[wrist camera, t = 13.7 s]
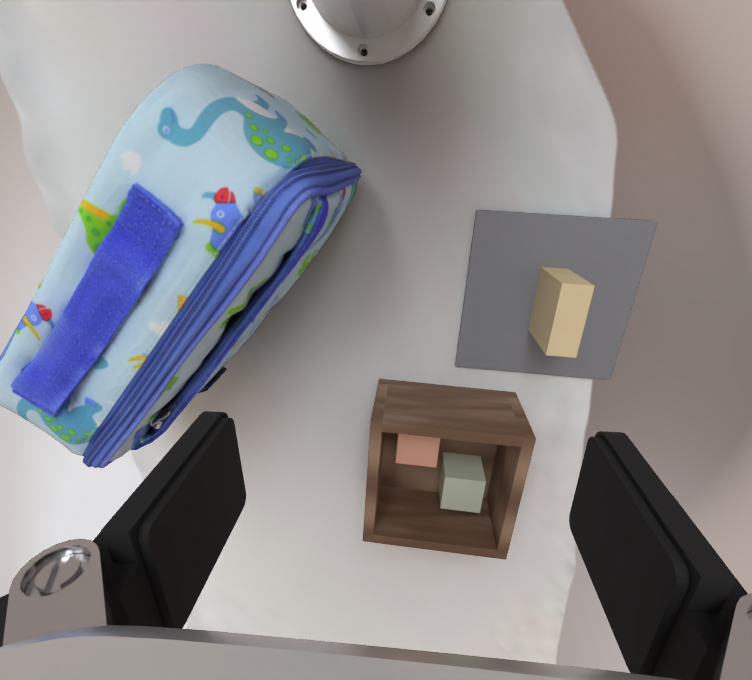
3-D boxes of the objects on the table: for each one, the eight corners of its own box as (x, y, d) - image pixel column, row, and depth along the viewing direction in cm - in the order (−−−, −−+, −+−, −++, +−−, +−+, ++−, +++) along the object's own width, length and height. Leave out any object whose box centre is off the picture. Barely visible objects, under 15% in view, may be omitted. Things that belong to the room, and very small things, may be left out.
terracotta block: (400, 406, 43) (398, 428, 39) (439, 411, 43) (441, 433, 39) (397, 439, 45) (395, 462, 41) (434, 443, 44) (436, 467, 41)
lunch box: (226, 376, 45) (79, 527, 26) (142, 312, 43) (-84, 423, 24) (384, 183, 36) (343, 192, 17) (287, 92, 34) (115, -16, 15)
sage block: (443, 451, 45) (445, 477, 41) (480, 456, 44) (486, 481, 41) (438, 481, 46) (440, 508, 42) (474, 485, 46) (479, 513, 42)
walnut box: (379, 378, 43) (370, 420, 36) (515, 392, 42) (535, 438, 35) (371, 485, 48) (362, 541, 41) (492, 499, 47) (505, 559, 40)
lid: (475, 209, 37) (487, 216, 30) (651, 220, 36) (702, 230, 29) (454, 362, 42) (460, 395, 36) (605, 375, 41) (640, 412, 35)
